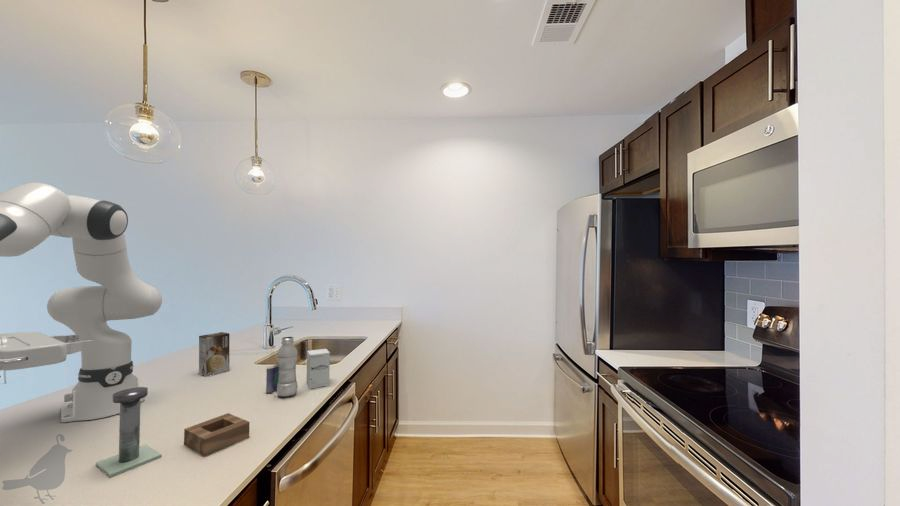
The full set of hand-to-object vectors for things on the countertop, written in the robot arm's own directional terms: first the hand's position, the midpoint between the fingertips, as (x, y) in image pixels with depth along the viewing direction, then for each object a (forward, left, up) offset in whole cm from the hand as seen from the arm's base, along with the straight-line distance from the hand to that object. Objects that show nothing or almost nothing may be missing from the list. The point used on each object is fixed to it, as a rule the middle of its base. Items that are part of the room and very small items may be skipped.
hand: (85, 340), depth 73 cm
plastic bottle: (-6, +51, -30) cm, 60 cm away
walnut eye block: (+6, +23, -30) cm, 38 cm away
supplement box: (-5, +64, -30) cm, 70 cm away
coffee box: (-55, +51, -30) cm, 81 cm away
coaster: (-2, +8, -30) cm, 31 cm away
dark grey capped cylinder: (-2, +8, -29) cm, 30 cm away
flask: (-14, +53, -30) cm, 63 cm away
